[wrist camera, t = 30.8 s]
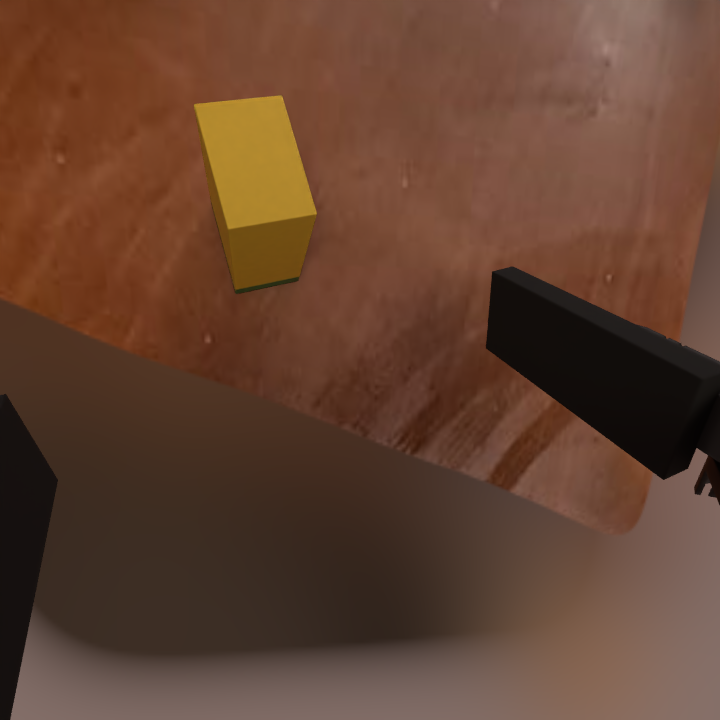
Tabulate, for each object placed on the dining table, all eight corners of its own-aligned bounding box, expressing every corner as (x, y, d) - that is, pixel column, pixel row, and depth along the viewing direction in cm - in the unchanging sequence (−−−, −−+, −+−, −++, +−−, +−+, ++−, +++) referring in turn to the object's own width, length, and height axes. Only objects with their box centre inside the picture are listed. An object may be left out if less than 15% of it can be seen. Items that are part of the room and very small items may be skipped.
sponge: (235, 294, 28) (227, 229, 20) (211, 204, 29) (193, 103, 20) (298, 281, 29) (317, 214, 21) (274, 194, 30) (282, 94, 21)
